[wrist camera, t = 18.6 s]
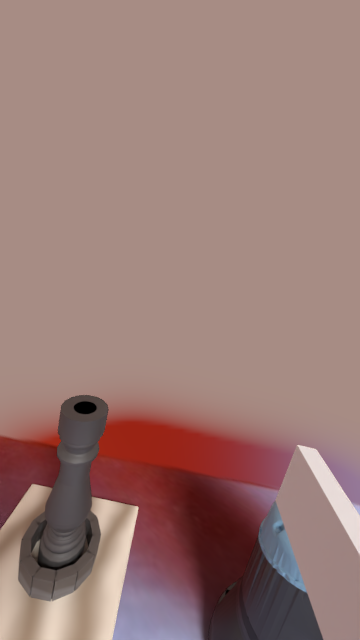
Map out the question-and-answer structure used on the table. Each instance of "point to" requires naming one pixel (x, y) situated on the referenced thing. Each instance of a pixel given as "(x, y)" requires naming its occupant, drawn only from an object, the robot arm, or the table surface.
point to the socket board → (89, 596)
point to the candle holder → (72, 482)
